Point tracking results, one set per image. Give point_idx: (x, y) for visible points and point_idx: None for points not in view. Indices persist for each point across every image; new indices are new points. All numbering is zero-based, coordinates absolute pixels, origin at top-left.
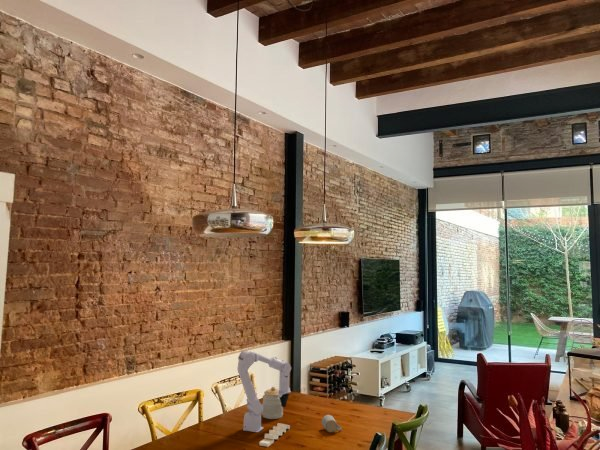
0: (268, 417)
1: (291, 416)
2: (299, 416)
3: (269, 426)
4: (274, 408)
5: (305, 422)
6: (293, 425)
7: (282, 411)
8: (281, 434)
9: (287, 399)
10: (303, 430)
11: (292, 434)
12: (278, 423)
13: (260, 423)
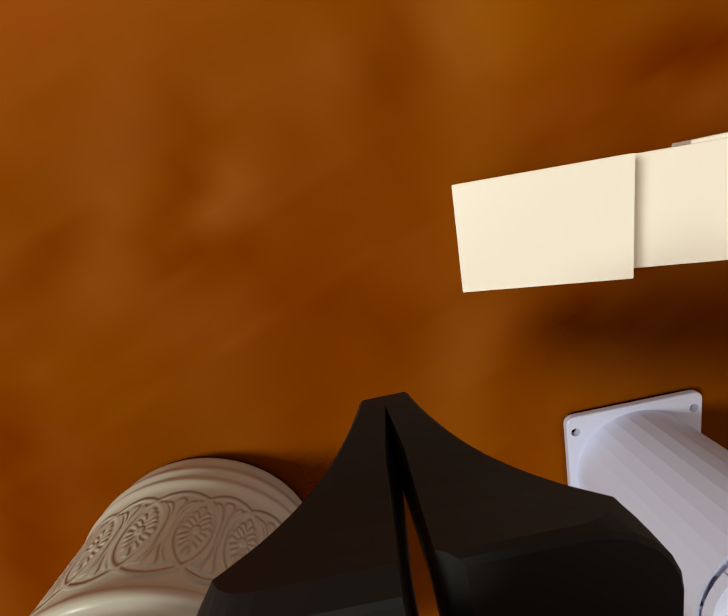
0: None
1: (83, 398)
2: (11, 328)
3: (487, 402)
4: None
5: (136, 146)
6: (321, 215)
7: (142, 502)
8: (702, 137)
9: (325, 480)
10: (404, 2)
11: (592, 53)
12: (632, 262)
13: (679, 444)
